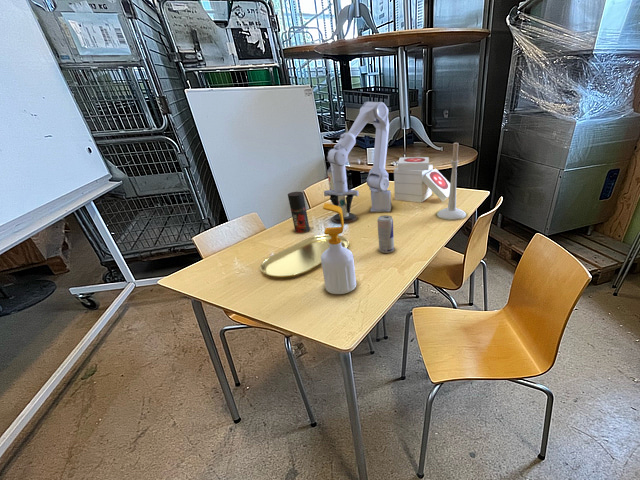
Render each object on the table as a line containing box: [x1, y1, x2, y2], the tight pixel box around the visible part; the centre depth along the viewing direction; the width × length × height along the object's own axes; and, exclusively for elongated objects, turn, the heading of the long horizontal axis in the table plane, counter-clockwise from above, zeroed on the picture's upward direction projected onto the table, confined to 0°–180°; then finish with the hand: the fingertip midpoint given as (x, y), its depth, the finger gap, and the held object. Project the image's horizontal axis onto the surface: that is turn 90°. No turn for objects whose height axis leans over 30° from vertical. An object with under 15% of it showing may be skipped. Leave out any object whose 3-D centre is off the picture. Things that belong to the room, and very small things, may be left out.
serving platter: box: [259, 234, 350, 279], centre depth 116 cm, size 19×35×2 cm, turn 148°
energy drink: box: [376, 214, 395, 254], centre depth 117 cm, size 5×5×12 cm
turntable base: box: [331, 213, 358, 225], centre depth 148 cm, size 11×11×1 cm
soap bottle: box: [321, 202, 357, 295], centre depth 92 cm, size 9×9×25 cm
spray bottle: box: [333, 198, 355, 221], centre depth 146 cm, size 9×9×8 cm
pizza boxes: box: [393, 156, 451, 203], centre depth 168 cm, size 19×30×18 cm, turn 65°
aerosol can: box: [326, 166, 346, 205], centre depth 160 cm, size 7×7×20 cm
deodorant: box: [287, 191, 311, 234], centre depth 134 cm, size 6×6×15 cm
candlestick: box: [436, 142, 467, 221], centre depth 142 cm, size 13×13×30 cm
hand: (343, 212), depth 146 cm, fingers closed on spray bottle, 4 cm apart
